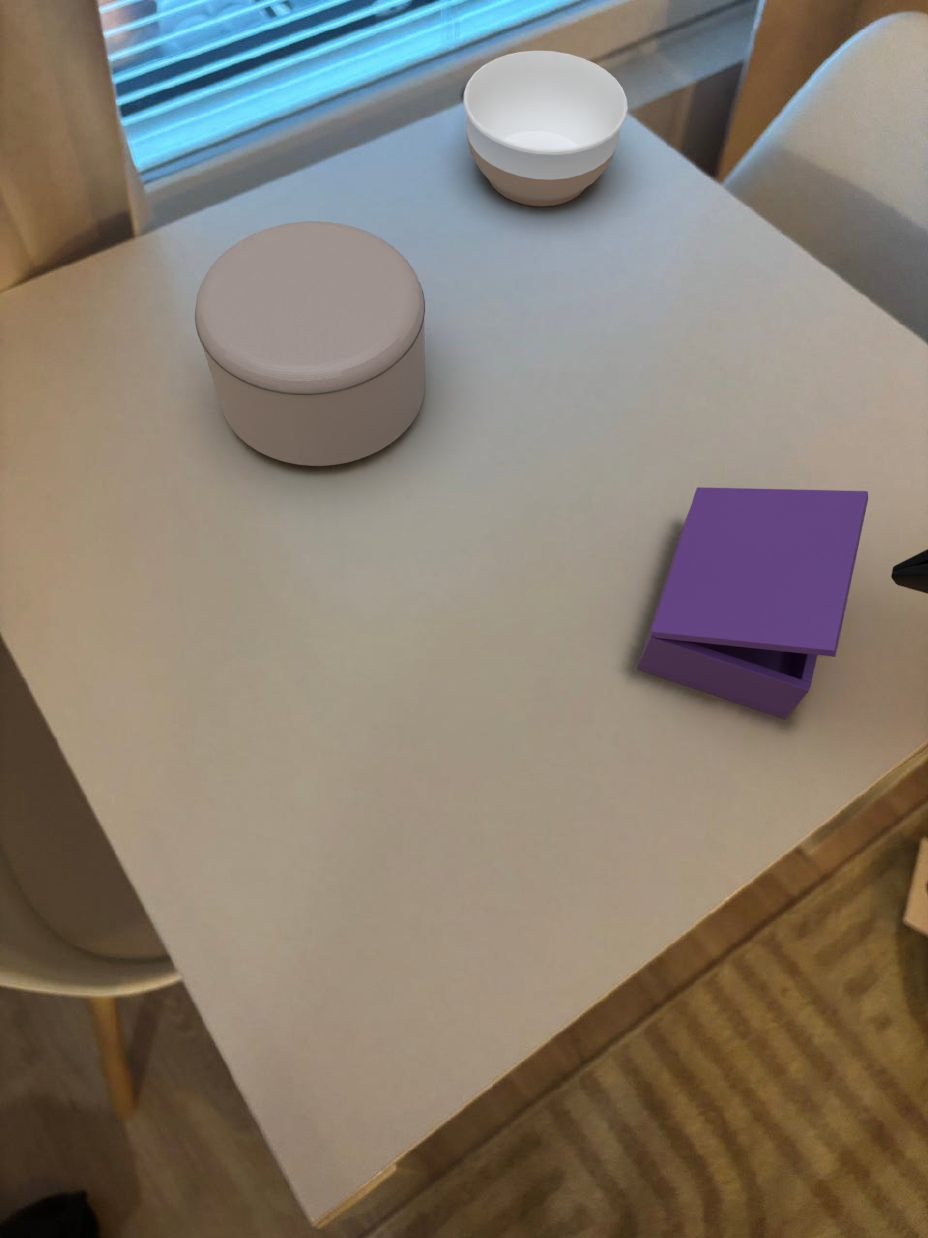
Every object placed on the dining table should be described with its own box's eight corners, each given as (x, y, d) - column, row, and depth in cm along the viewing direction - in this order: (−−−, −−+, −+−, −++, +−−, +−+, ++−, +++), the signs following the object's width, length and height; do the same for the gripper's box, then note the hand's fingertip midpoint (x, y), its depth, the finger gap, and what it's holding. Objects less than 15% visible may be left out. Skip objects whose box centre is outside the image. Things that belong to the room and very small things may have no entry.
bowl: (485, 235, 93) (489, 163, 86) (443, 135, 101) (444, 61, 94) (636, 209, 96) (652, 137, 89) (585, 113, 103) (596, 39, 96)
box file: (818, 574, 76) (842, 539, 71) (785, 719, 70) (809, 691, 65) (680, 531, 77) (696, 493, 73) (636, 668, 71) (650, 637, 67)
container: (180, 388, 83) (143, 283, 73) (338, 291, 89) (325, 182, 79) (307, 514, 77) (287, 420, 67) (468, 401, 83) (472, 298, 73)
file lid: (868, 498, 67) (867, 490, 66) (835, 657, 60) (834, 650, 60) (698, 493, 73) (696, 486, 72) (653, 637, 67) (650, 631, 66)
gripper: (1151, 309, 51) (865, 391, 62) (1141, 588, 42) (812, 624, 54) (1199, 445, 57) (930, 497, 68) (1199, 714, 48) (892, 722, 60)
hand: (894, 576), depth 62 cm, fingers closed
